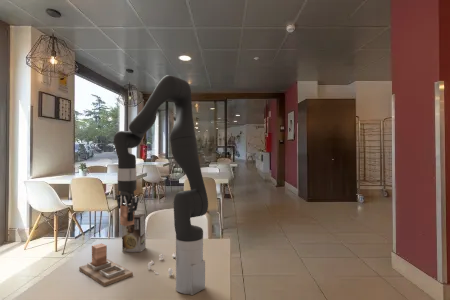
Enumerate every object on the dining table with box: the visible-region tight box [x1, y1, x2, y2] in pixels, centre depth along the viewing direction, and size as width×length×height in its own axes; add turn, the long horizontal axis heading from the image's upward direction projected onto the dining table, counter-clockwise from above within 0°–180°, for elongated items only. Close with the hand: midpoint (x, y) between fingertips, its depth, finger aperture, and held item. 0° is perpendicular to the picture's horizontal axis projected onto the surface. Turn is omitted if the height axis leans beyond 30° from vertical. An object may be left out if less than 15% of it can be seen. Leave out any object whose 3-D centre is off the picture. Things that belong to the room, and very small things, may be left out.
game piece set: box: [147, 251, 176, 277], centre depth 117 cm, size 19×20×4 cm
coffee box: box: [121, 213, 147, 253], centre depth 135 cm, size 9×6×16 cm
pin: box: [119, 204, 135, 226], centre depth 120 cm, size 4×4×8 cm
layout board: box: [78, 243, 134, 287], centre depth 110 cm, size 20×11×9 cm, turn 49°
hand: (127, 220), depth 120 cm, fingers closed on pin, 4 cm apart
